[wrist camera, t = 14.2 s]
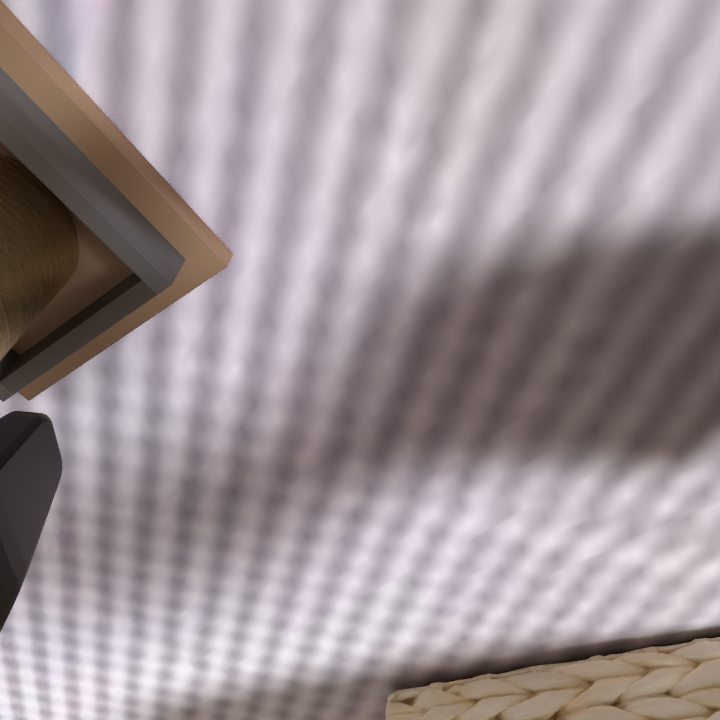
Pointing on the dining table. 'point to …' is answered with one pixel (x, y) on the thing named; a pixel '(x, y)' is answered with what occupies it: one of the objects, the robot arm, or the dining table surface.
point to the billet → (30, 249)
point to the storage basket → (581, 689)
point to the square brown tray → (92, 218)
